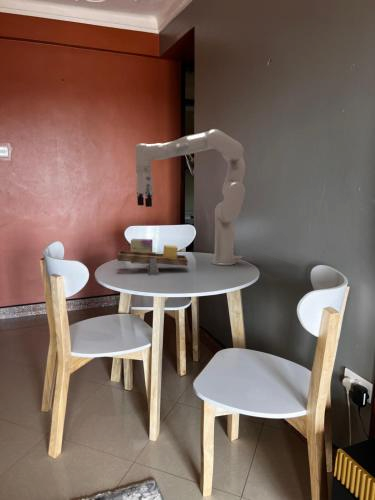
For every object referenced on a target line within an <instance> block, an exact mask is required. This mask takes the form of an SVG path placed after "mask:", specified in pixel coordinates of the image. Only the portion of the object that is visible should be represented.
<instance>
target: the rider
mask: <svg viewBox="0 0 375 500" xmlns="http://www.w3.org/2000/svg"><path fill="white" fill-rule="evenodd" d="M162 254H163V258H173V259H177V255H178V246H176V245H170V244H169V245H167V244H164V245H163V253H162Z"/></svg>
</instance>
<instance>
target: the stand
mask: <svg viewBox="0 0 375 500" xmlns="http://www.w3.org/2000/svg"><path fill="white" fill-rule="evenodd" d="M149 253H156V252H154V251H152V252H149ZM146 269H147V270H146V271H147V276H159V275H160V272H159V267H158V264H157V259H156V258H150V263H148V264H147V265H146Z"/></svg>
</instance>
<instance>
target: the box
mask: <svg viewBox="0 0 375 500" xmlns="http://www.w3.org/2000/svg"><path fill="white" fill-rule="evenodd" d="M130 251H132V252H145V253H149V252H153V239H147V238H132V239H130ZM130 263H131V264H132V263H134V264H135V263H137V264H142V263H141V262H130Z"/></svg>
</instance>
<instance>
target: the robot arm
mask: <svg viewBox="0 0 375 500" xmlns="http://www.w3.org/2000/svg"><path fill="white" fill-rule="evenodd" d="M134 148H135V149H134V150H135V173H136V197H137V200H136V201H137V206H144V205H145V207H146V208H151V207H153V194H154V183H153V175H152V173H153V171H152V168H153V167H152V166H153V165H152V159H154V160H157V161H161V160H166V159H171V158H175V157H179V156H187V155H191V154H197V153H199V152H204V151H208V150H213V149H215V150H216V151H217V152H219V153H220V154H221V156H222V157H223V159H224V160H225V161H226V163H227V164H226V165H227V170H226V175H225V179H224V183H223V185H222V188H221V193H222V196H223V201H220V202H218V203H217V204H216V206H215V209H214V229H215V230H214V257H213V259H211V261H210V262H211V264H212V265H216V266H233V264H234V265H236V262H237V260H238V261H239V260H243V256H242V255H235V254H234V241H235V240H234V236H235V235H234V233H235V224H234V223H235V221H237V219H238V217H239V215H240V213H241V209H242V207H243V203H244V199H245V196H246V188H245V185H244V184H243V181H244V178H245V177H244V176H245V172H246V163H245V159H244V157H243V155H244V150H245V149H244V147H243V144H241V143H240V142H239V141H237V140H236V139H235V138H232V137H231V136H230V135H228V134H226V133H225V132H223V131H222V130H219V129H216V128H212V129H210V130H208V131H204V132H200V133H195V134H194V133H193V134H189V135H185V136H183V137H181V138H178V139H175V140H173V141H168V142H156V143H137V144H136V145H135V147H134ZM144 196H145V197H144Z"/></svg>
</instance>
